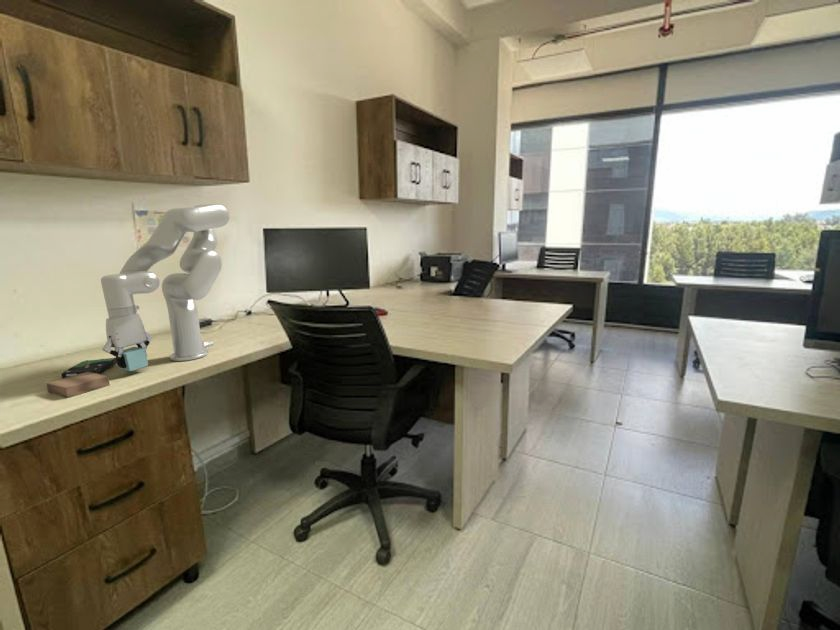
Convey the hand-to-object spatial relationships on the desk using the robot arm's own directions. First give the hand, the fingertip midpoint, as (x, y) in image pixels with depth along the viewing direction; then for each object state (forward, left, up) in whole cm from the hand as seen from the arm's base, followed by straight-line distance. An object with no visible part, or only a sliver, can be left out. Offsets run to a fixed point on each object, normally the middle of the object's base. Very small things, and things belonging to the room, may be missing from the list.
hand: (133, 363), depth 140 cm
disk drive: (+5, -16, -4) cm, 18 cm away
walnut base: (+16, 0, -3) cm, 16 cm away
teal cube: (0, 0, -1) cm, 1 cm away
